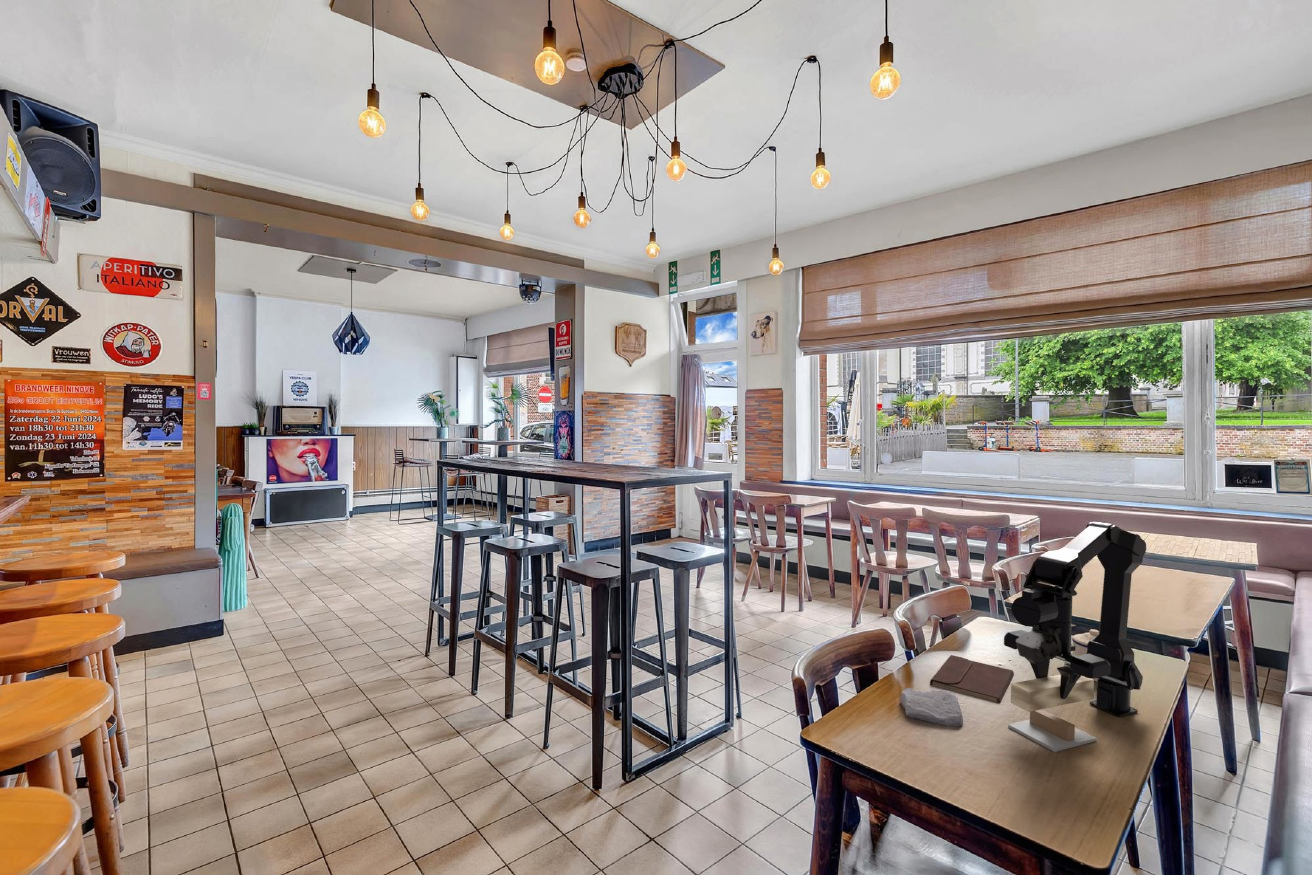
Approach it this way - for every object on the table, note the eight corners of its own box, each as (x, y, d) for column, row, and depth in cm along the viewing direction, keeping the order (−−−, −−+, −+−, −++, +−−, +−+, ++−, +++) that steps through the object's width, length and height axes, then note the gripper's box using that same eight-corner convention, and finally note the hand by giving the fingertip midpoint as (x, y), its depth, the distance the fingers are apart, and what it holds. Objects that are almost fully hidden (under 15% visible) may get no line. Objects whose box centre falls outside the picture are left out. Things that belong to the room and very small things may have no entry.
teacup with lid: (1113, 687, 146) (1115, 639, 145) (1068, 676, 152) (1069, 630, 151) (1118, 672, 155) (1119, 627, 154) (1075, 662, 161) (1076, 619, 160)
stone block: (966, 736, 126) (955, 705, 135) (967, 716, 125) (956, 686, 134) (905, 730, 129) (899, 701, 138) (906, 711, 128) (899, 682, 137)
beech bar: (1074, 690, 128) (1074, 671, 128) (1093, 698, 124) (1094, 679, 124) (1010, 702, 122) (1011, 683, 122) (1028, 711, 118) (1029, 691, 118)
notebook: (1013, 676, 152) (1014, 668, 152) (999, 704, 137) (1000, 696, 137) (949, 661, 162) (949, 653, 162) (929, 686, 146) (929, 678, 146)
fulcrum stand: (1048, 717, 130) (1048, 701, 130) (1096, 740, 121) (1096, 722, 121) (1008, 727, 126) (1008, 710, 126) (1054, 751, 116) (1055, 733, 116)
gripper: (985, 609, 129) (984, 681, 129) (1073, 638, 111) (1071, 722, 112) (1023, 603, 132) (1021, 673, 133) (1113, 631, 115) (1111, 712, 116)
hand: (1052, 693), depth 123 cm, fingers closed on beech bar, 4 cm apart
